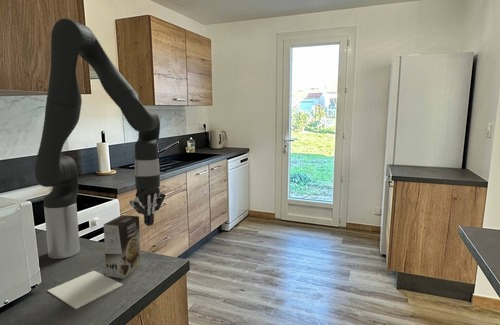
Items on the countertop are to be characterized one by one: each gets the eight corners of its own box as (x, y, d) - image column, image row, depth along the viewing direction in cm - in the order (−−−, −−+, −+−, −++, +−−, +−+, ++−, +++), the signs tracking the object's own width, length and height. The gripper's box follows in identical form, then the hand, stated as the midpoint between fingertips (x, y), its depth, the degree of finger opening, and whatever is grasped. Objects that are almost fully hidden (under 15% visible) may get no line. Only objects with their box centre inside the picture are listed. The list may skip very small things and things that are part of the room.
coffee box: (125, 279, 90) (122, 225, 87) (105, 276, 91) (102, 224, 89) (142, 264, 99) (140, 215, 96) (123, 262, 100) (121, 214, 98)
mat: (47, 291, 83) (47, 290, 83) (94, 271, 94) (94, 270, 94) (76, 309, 76) (76, 308, 76) (122, 285, 87) (122, 284, 87)
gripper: (155, 168, 106) (157, 217, 109) (121, 174, 95) (124, 228, 98) (171, 171, 102) (172, 221, 105) (137, 177, 91) (140, 233, 94)
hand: (149, 225), depth 102 cm, fingers closed
